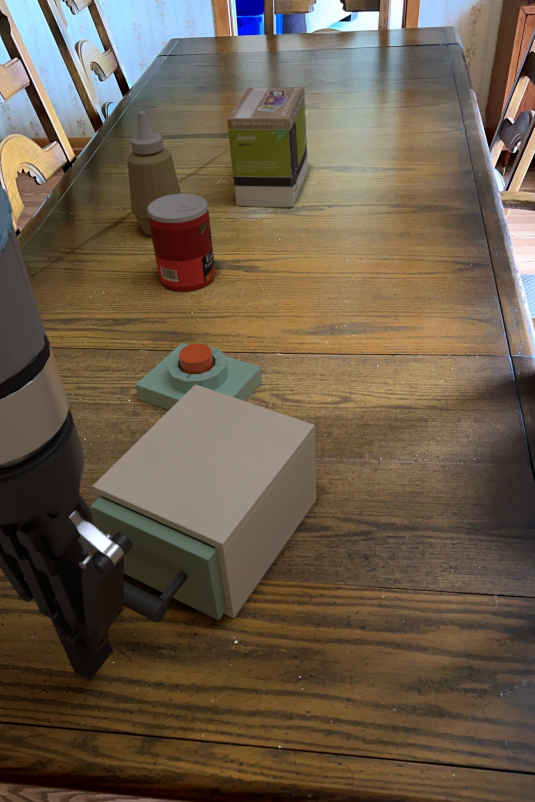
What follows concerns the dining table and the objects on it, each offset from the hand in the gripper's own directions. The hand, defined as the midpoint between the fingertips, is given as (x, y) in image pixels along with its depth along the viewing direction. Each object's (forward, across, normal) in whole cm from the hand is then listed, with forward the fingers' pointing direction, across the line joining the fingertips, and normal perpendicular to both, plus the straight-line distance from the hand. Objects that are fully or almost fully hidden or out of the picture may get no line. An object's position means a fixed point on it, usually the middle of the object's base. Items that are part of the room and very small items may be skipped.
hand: (93, 661), depth 53 cm
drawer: (+2, 0, +13) cm, 13 cm away
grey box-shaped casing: (+3, 0, +17) cm, 17 cm away
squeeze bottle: (+3, -41, +64) cm, 76 cm away
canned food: (+3, -28, +53) cm, 60 cm away
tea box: (+3, -32, +84) cm, 90 cm away
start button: (-1, -13, +33) cm, 35 cm away
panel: (+3, -13, +33) cm, 35 cm away
